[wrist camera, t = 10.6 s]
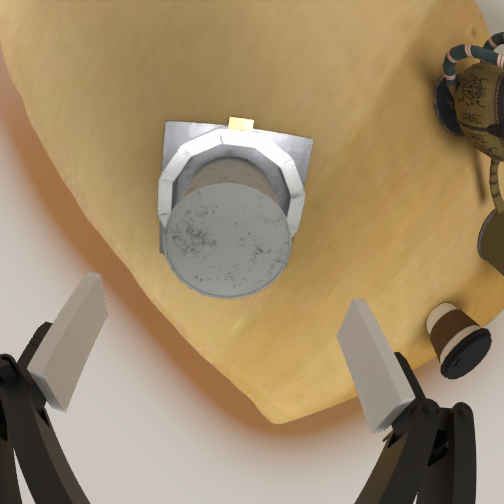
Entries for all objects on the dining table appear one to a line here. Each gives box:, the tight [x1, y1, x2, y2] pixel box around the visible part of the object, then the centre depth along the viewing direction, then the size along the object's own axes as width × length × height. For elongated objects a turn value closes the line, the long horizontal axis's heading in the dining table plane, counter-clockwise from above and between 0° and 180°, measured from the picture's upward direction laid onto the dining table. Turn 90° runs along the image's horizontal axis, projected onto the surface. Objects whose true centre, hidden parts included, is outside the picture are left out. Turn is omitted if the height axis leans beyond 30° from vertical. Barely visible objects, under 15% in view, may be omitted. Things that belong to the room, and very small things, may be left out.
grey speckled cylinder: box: [163, 155, 292, 299], centre depth 27 cm, size 10×10×12 cm
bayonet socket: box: [158, 117, 314, 266], centre depth 31 cm, size 18×16×3 cm
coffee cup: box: [426, 302, 492, 379], centre depth 39 cm, size 11×11×12 cm
